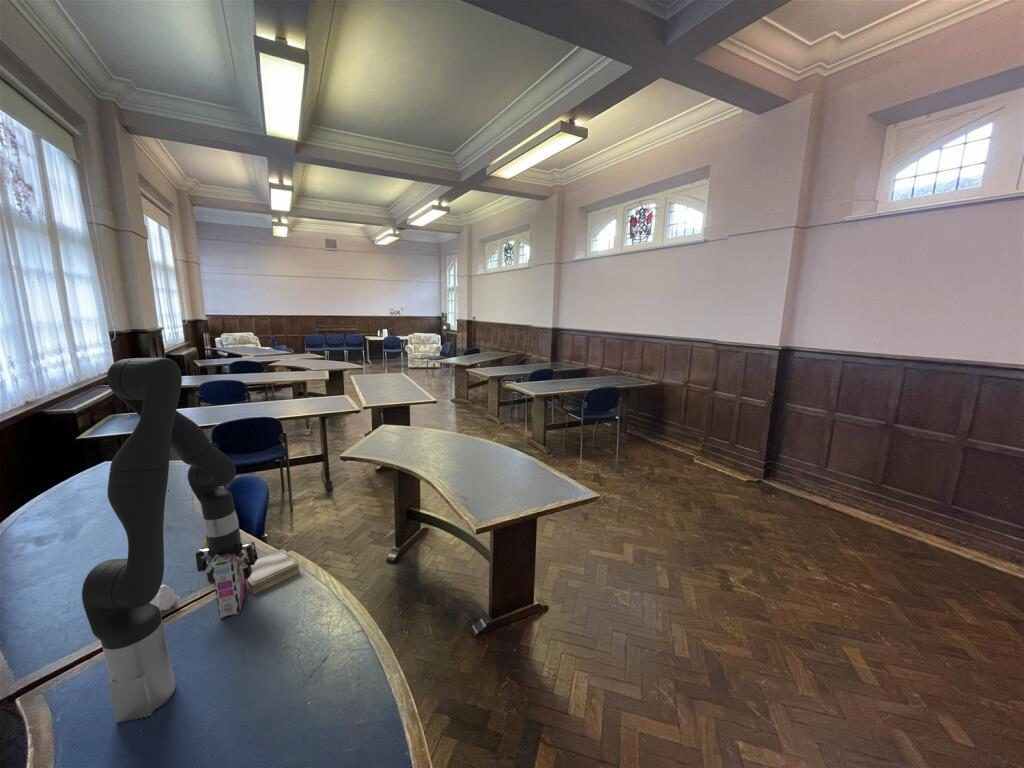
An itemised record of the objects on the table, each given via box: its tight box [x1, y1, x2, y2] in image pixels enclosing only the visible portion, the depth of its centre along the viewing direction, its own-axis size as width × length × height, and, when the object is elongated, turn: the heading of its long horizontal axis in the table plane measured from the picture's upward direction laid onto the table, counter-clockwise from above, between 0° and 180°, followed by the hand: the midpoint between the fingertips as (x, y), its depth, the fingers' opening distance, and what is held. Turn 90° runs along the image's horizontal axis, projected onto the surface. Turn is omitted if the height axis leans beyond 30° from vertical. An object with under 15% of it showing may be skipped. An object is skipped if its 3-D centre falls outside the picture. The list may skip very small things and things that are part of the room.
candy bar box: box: [212, 554, 247, 619], centre depth 113 cm, size 11×5×16 cm, turn 25°
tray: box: [243, 548, 300, 595], centre depth 127 cm, size 13×13×3 cm
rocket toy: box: [149, 583, 182, 611], centre depth 112 cm, size 5×5×8 cm
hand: (231, 579), depth 114 cm, fingers open, 8 cm apart
